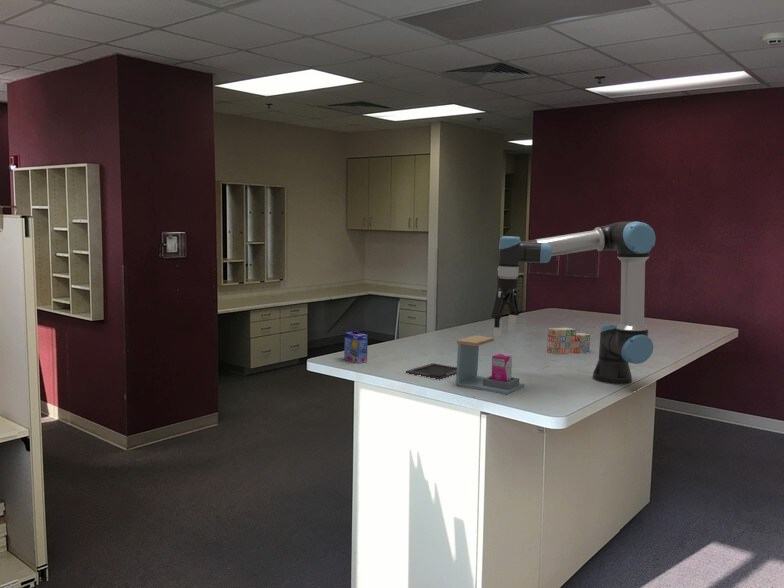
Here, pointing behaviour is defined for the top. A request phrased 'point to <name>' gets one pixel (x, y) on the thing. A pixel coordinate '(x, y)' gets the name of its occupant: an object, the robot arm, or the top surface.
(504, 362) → the supplement box
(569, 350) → the stack of blocks
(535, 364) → the top surface
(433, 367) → the picture frame
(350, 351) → the ink cartridge box
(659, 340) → the top surface
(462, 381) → the socket stand
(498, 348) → the top surface
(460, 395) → the top surface
